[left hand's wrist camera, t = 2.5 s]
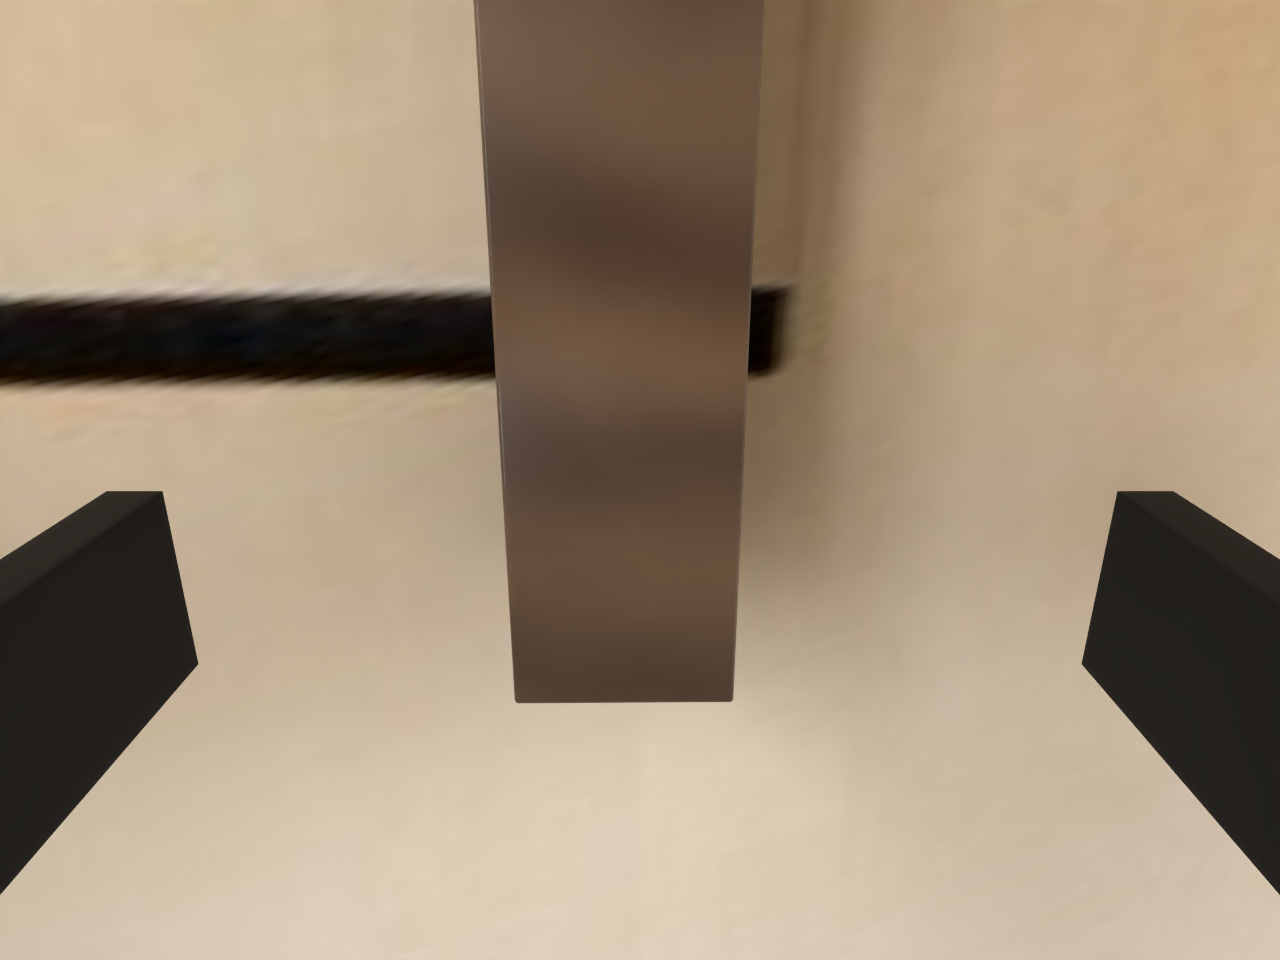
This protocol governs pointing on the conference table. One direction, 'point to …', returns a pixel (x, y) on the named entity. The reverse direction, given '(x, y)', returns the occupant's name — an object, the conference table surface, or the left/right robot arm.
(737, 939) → the conference table surface
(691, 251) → the bar
